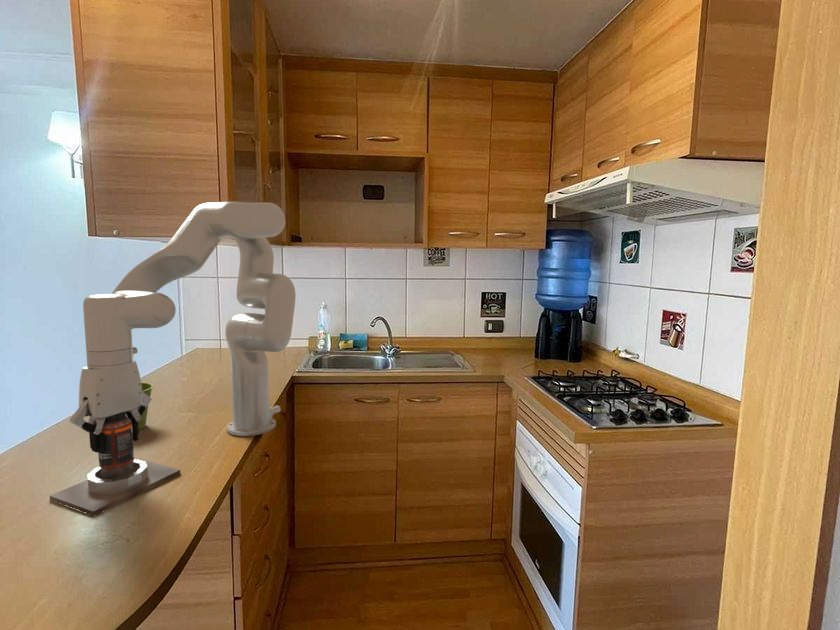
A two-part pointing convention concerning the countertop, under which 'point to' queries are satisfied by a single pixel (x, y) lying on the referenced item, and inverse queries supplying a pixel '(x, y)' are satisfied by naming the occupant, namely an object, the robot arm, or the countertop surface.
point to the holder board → (96, 504)
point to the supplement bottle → (117, 442)
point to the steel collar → (113, 486)
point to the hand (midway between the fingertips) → (115, 444)
